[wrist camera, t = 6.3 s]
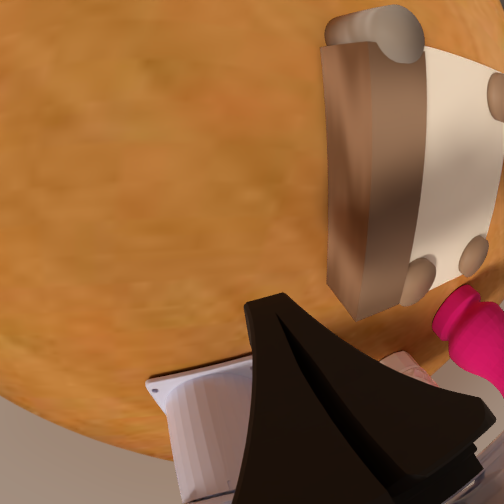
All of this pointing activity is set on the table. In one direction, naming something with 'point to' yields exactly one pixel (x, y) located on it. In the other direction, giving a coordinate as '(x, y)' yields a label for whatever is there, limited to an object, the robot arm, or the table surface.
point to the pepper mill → (473, 334)
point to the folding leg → (373, 153)
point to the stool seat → (456, 171)
